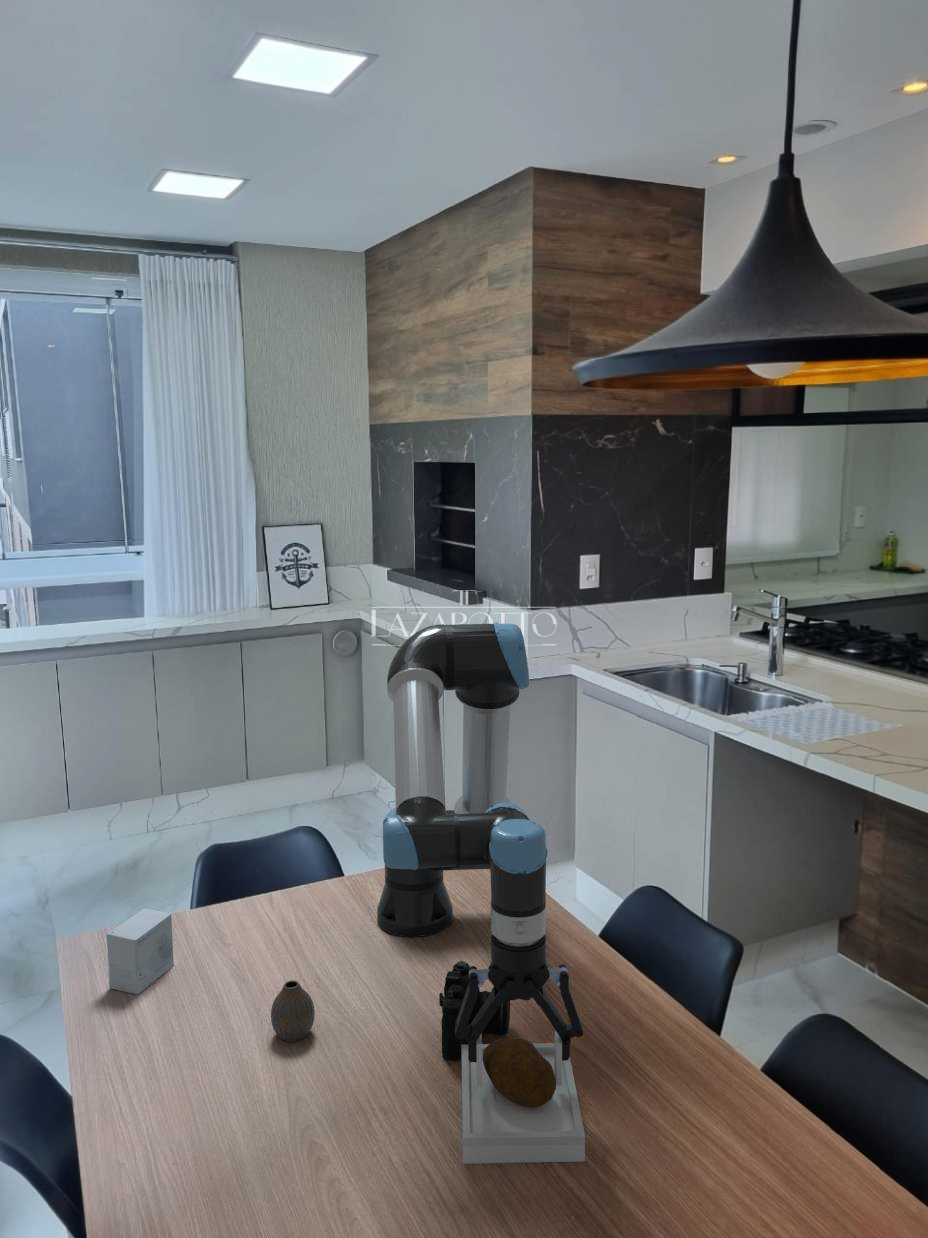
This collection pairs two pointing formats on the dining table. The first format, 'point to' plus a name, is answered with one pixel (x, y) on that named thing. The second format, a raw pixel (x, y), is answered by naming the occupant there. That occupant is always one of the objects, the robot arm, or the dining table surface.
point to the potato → (519, 1072)
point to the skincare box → (140, 951)
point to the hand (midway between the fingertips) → (518, 1080)
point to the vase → (292, 1012)
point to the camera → (451, 1006)
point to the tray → (520, 1120)
